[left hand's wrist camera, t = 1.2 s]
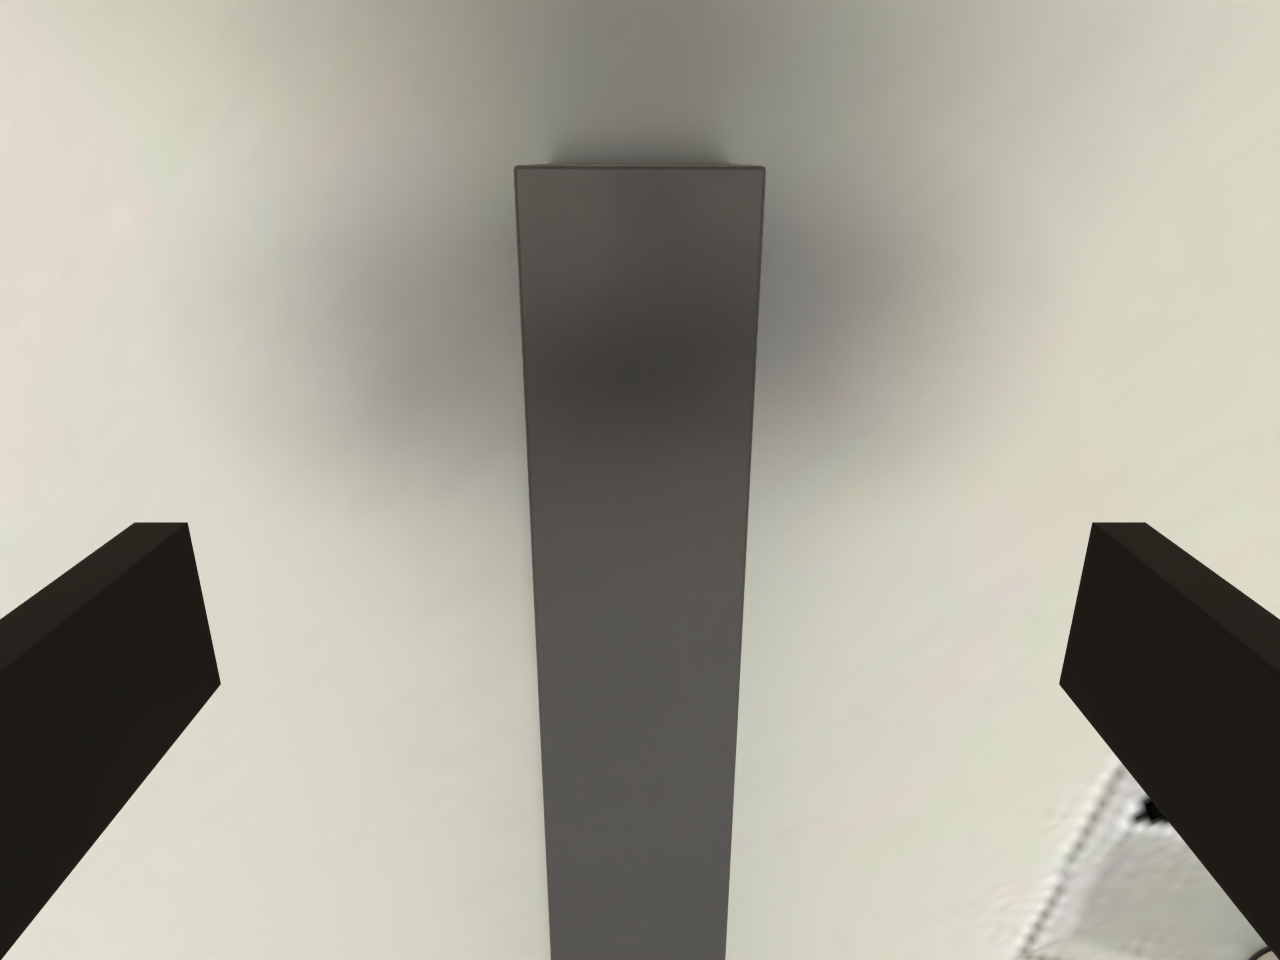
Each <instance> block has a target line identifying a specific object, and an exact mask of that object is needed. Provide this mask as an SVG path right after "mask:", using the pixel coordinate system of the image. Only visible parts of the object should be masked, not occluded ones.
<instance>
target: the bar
mask: <svg viewBox="0 0 1280 960" xmlns="http://www.w3.org/2000/svg"><path fill="white" fill-rule="evenodd" d="M765 177H766V169H765V167H763V166H752V165H734V164H536V165H518V166H515V168H514V185H515V206H516V228H517V249H518V270H519V291H520V312H521V334H522V355H523V376H524V397H525V418H526V439H527V461H528V482H529V503H530V524H531V545H532V567H533V588H534V609H535V630H536V651H537V673H538V694H539V715H540V736H541V757H542V778H543V800H544V821H545V842H546V863H547V884H548V906H549V927H550V948H551V960H725V954H726V935H727V916H728V896H729V877H730V857H731V838H732V818H733V799H734V780H735V760H736V741H737V721H738V702H739V683H740V663H741V644H742V624H743V605H744V585H745V566H746V547H747V527H748V508H749V488H750V469H751V449H752V430H753V411H754V391H755V372H756V352H757V333H758V313H759V294H760V275H761V255H762V236H763V216H764V197H765Z"/></svg>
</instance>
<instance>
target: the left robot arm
mask: <svg viewBox="0 0 1280 960" xmlns="http://www.w3.org/2000/svg"><path fill="white" fill-rule="evenodd" d="M220 684H221V683H220V678H219V673H218V668H217V663H216V658H215V653H214V649H213V644H212V639H211V634H210V629H209V624H208V620H207V615H206V610H205V605H204V600H203V595H202V590H201V586H200V581H199V576H198V571H197V566H196V561H195V556H194V552H193V547H192V542H191V537H190V532H189V527H188V523H133V524H132V525H131V526H129V527H128V528H126V529H125V530H124V531H122V532H121V533H120V534H118V535H117V536H115V537H114V538H113V539H111V540H110V541H108V542H107V543H106V544H104V545H103V546H102V547H100V548H99V549H97V550H96V551H95V552H93V553H92V554H90V555H89V556H88V557H86V558H85V559H83V560H82V561H81V562H79V563H78V564H77V565H75V566H74V567H72V568H71V569H70V570H68V571H67V572H65V573H64V574H63V575H61V576H60V577H59V578H57V579H56V580H54V581H53V582H52V583H50V584H49V585H47V586H46V587H45V588H43V589H42V590H41V591H39V592H38V593H36V594H35V595H34V596H32V597H31V598H29V599H28V600H27V601H25V602H24V603H22V604H21V605H20V606H18V607H17V608H16V609H14V610H13V611H11V612H10V613H9V614H7V615H6V616H4V617H3V618H2V619H0V960H1V959H2V958H3V957H4V956H5V954H6V953H7V952H8V950H9V949H10V948H11V947H12V945H13V944H14V943H15V942H16V940H17V939H18V938H19V937H20V935H21V934H22V933H23V932H24V930H25V929H26V928H27V927H28V925H29V924H30V923H31V922H32V920H33V919H34V918H35V917H36V915H37V914H38V913H39V912H40V910H41V909H42V908H43V907H44V905H45V904H46V903H47V902H48V900H49V899H50V898H51V897H52V895H53V894H54V893H55V892H56V890H57V889H58V888H59V886H60V885H61V884H62V883H63V881H64V880H65V879H66V878H67V876H68V875H69V874H70V873H71V871H72V870H73V869H74V868H75V866H76V865H77V864H78V863H79V861H80V860H81V859H82V858H83V856H84V855H85V854H86V853H87V851H88V850H89V849H90V848H91V846H92V845H93V844H94V843H95V841H96V840H97V839H98V838H99V836H100V835H101V834H102V833H103V831H104V830H105V829H106V828H107V826H108V825H109V824H110V823H111V821H112V820H113V819H114V817H115V816H116V815H117V814H118V812H119V811H120V810H121V809H122V807H123V806H124V805H125V804H126V802H127V801H128V800H129V799H130V797H131V796H132V795H133V794H134V792H135V791H136V790H137V789H138V787H139V786H140V785H141V784H142V782H143V781H144V780H145V779H146V777H147V776H148V775H149V774H150V772H151V771H152V770H153V769H154V767H155V766H156V765H157V764H158V762H159V761H160V760H161V759H162V757H163V756H164V755H165V753H166V752H167V751H168V750H169V748H170V747H171V746H172V745H173V743H174V742H175V741H176V740H177V738H178V737H179V736H180V735H181V733H182V732H183V731H184V730H185V728H186V727H187V726H188V725H189V723H190V722H191V721H192V720H193V718H194V717H195V716H196V715H197V713H198V712H199V711H200V710H201V708H202V707H203V706H204V705H205V703H206V702H207V701H208V700H209V698H210V697H211V696H212V695H213V693H214V692H215V691H216V689H217V688H218V687H219V686H220ZM1059 684H1060V686H1061V687H1062V688H1063V690H1064V691H1065V692H1066V693H1067V695H1068V696H1069V697H1070V698H1071V700H1072V701H1073V702H1074V703H1075V705H1076V706H1077V707H1078V708H1079V710H1080V711H1081V712H1082V713H1083V715H1084V716H1085V717H1086V718H1087V720H1088V721H1089V722H1090V723H1091V725H1092V726H1093V727H1094V728H1095V730H1096V731H1097V732H1098V733H1099V735H1100V736H1101V737H1102V738H1103V740H1104V741H1105V742H1106V743H1107V745H1108V746H1109V747H1110V748H1111V750H1112V751H1113V752H1114V753H1115V755H1116V756H1117V757H1118V759H1119V760H1120V761H1121V762H1122V764H1123V765H1124V766H1125V767H1126V769H1127V770H1128V771H1129V772H1130V774H1131V775H1132V776H1133V777H1134V779H1135V780H1136V781H1137V782H1138V784H1139V785H1140V786H1141V787H1142V789H1143V790H1144V791H1145V792H1146V794H1147V795H1148V796H1149V797H1150V799H1151V800H1152V801H1153V802H1154V804H1155V805H1156V806H1157V807H1158V809H1159V810H1160V811H1161V812H1162V814H1163V815H1164V816H1165V817H1166V819H1167V820H1168V821H1169V823H1170V824H1171V825H1172V826H1173V828H1174V829H1175V830H1176V831H1177V833H1178V834H1179V835H1180V836H1181V838H1182V839H1183V840H1184V841H1185V843H1186V844H1187V845H1188V846H1189V848H1190V849H1191V850H1192V851H1193V853H1194V854H1195V855H1196V856H1197V858H1198V859H1199V860H1200V861H1201V863H1202V864H1203V865H1204V866H1205V868H1206V869H1207V870H1208V871H1209V873H1210V874H1211V875H1212V876H1213V878H1214V879H1215V880H1216V881H1217V883H1218V884H1219V885H1220V887H1221V888H1222V889H1223V890H1224V892H1225V893H1226V894H1227V895H1228V897H1229V898H1230V899H1231V900H1232V902H1233V903H1234V904H1235V905H1236V907H1237V908H1238V909H1239V910H1240V912H1241V913H1242V914H1243V915H1244V917H1245V918H1246V919H1247V920H1248V922H1249V923H1250V924H1251V925H1252V927H1253V928H1254V929H1255V930H1256V932H1257V933H1258V934H1259V935H1260V937H1261V938H1262V939H1263V940H1264V942H1265V943H1266V944H1267V945H1268V947H1269V948H1270V949H1271V950H1272V952H1273V953H1274V954H1275V956H1276V957H1277V958H1278V959H1279V960H1280V619H1278V618H1277V617H1276V616H1274V615H1273V614H1271V613H1270V612H1269V611H1267V610H1266V609H1264V608H1263V607H1262V606H1260V605H1259V604H1258V603H1256V602H1255V601H1253V600H1252V599H1251V598H1249V597H1248V596H1246V595H1245V594H1244V593H1242V592H1241V591H1239V590H1238V589H1237V588H1235V587H1234V586H1233V585H1231V584H1230V583H1228V582H1227V581H1226V580H1224V579H1223V578H1221V577H1220V576H1219V575H1217V574H1216V573H1215V572H1213V571H1212V570H1210V569H1209V568H1208V567H1206V566H1205V565H1203V564H1202V563H1201V562H1199V561H1198V560H1197V559H1195V558H1194V557H1192V556H1191V555H1190V554H1188V553H1187V552H1185V551H1184V550H1183V549H1181V548H1180V547H1178V546H1177V545H1176V544H1174V543H1173V542H1172V541H1170V540H1169V539H1167V538H1166V537H1165V536H1163V535H1162V534H1160V533H1159V532H1158V531H1156V530H1155V529H1154V528H1152V527H1151V526H1149V525H1148V524H1147V523H1092V527H1091V532H1090V537H1089V542H1088V547H1087V552H1086V556H1085V561H1084V566H1083V571H1082V576H1081V581H1080V586H1079V590H1078V595H1077V600H1076V605H1075V610H1074V615H1073V620H1072V624H1071V629H1070V634H1069V639H1068V644H1067V649H1066V653H1065V658H1064V663H1063V668H1062V673H1061V678H1060V683H1059Z"/></svg>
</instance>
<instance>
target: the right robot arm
mask: <svg viewBox="0 0 1280 960" xmlns="http://www.w3.org/2000/svg"><path fill="white" fill-rule="evenodd" d="M1257 960H1279V959H1278V958H1277V957H1276V956H1275V954H1274V953H1273V952H1272V951H1270V952H1268V953H1266V954H1264V955H1262V956H1261V957H1259V958H1258V959H1257Z"/></svg>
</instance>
